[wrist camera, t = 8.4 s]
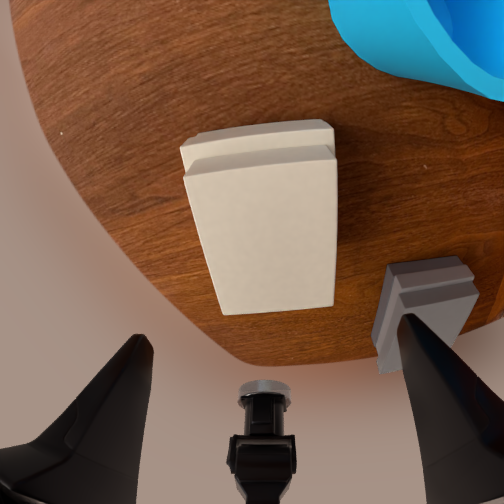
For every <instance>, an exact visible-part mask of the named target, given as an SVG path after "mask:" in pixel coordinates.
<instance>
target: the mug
mask: <svg viewBox="0 0 504 504" xmlns="http://www.w3.org/2000/svg"><path fill="white" fill-rule="evenodd" d="M328 2H329V6H330V11H331V16H332V20H333V22H334V24H335V26H336V28H337V29H338V31H339V33H340V35H341V37H342V39H343V40H344V41H345V42H346V43H347V44H348V46H349V47H350V48H351V49H352V50H353V51H354V52H355V53H356V54H357V56H358V57H360V58H361V59H363V60H364V61H366V62H367V63H369V64H370V65H372V66H373V67H374V68H376V69H378V70H380V71H383V72H386V73H389V74H391V75H394V76H397V77H403V78H409V79H415V80H420V81H425V82H430V83H435V84H439V85H444V86H448V87H452V88H456V89H460V90H463V91H467V92H470V93H474V94H477V95H480V96H483V97H486V98H489V99H494V100H498V101H503V102H504V0H328Z"/></svg>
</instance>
